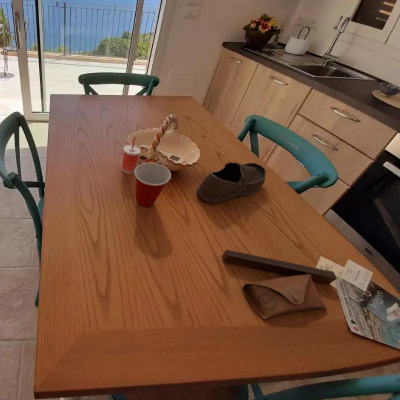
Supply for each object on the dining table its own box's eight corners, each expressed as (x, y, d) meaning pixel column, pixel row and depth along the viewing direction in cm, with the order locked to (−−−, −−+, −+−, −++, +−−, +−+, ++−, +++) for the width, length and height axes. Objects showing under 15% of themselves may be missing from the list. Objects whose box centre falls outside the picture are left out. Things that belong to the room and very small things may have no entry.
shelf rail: (328, 284, 68) (337, 278, 66) (222, 262, 72) (227, 255, 70) (325, 278, 70) (333, 271, 68) (221, 256, 73) (226, 249, 71)
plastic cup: (122, 193, 90) (128, 164, 82) (150, 188, 93) (158, 159, 85) (137, 216, 83) (146, 186, 75) (167, 209, 86) (178, 179, 78)
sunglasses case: (265, 322, 60) (268, 295, 58) (240, 304, 66) (242, 279, 65) (330, 308, 63) (334, 282, 61) (300, 292, 70) (303, 269, 68)
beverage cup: (120, 164, 103) (126, 131, 94) (136, 166, 102) (144, 133, 93) (118, 173, 99) (125, 139, 89) (135, 176, 98) (143, 142, 88)
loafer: (269, 186, 98) (285, 162, 91) (216, 213, 86) (230, 188, 78) (242, 170, 104) (256, 146, 97) (190, 193, 92) (201, 168, 85)
